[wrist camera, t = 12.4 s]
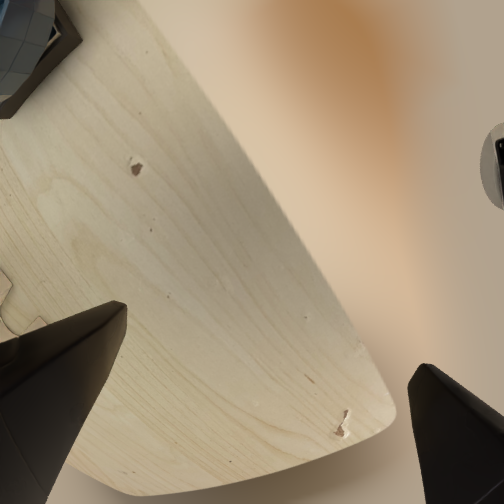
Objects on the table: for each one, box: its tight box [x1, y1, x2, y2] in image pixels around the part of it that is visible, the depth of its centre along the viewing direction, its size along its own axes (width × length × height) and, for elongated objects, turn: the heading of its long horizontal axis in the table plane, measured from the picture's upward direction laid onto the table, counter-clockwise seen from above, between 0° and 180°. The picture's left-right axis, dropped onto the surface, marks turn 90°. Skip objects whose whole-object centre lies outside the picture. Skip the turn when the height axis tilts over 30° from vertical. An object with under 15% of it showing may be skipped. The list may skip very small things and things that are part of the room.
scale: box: [0, 0, 83, 119], centre depth 14 cm, size 8×8×3 cm
